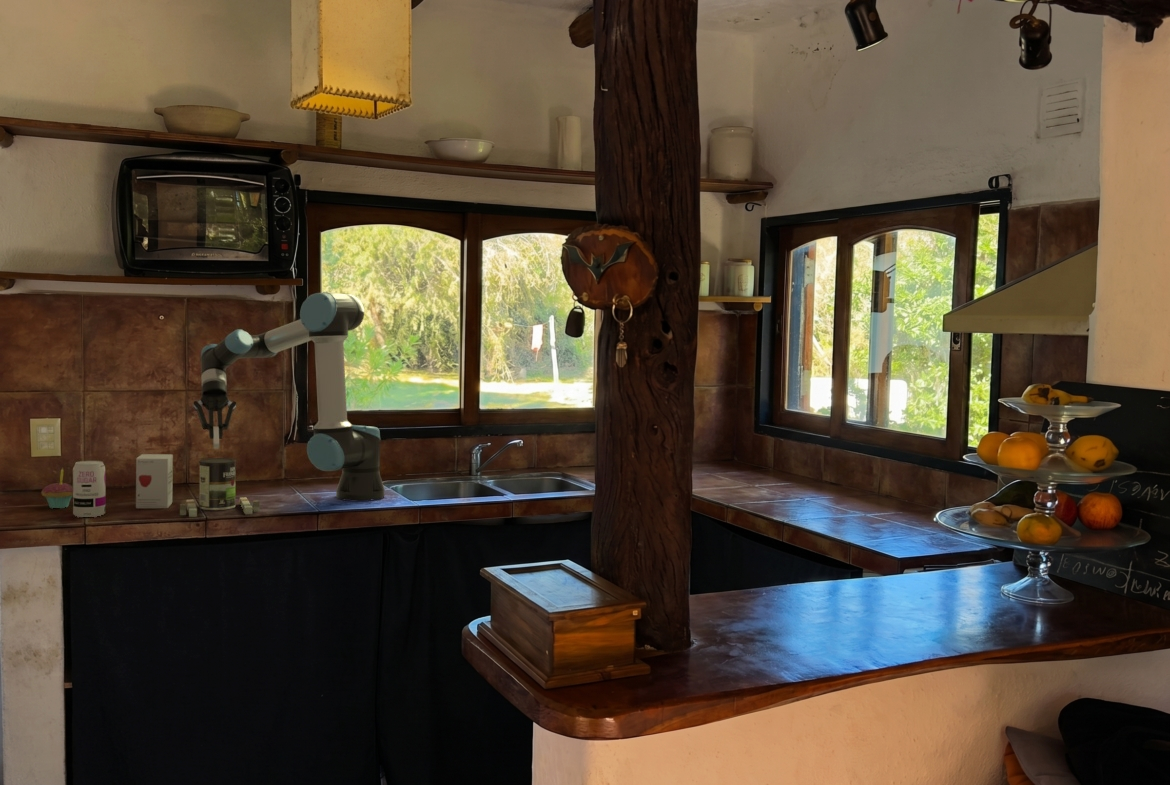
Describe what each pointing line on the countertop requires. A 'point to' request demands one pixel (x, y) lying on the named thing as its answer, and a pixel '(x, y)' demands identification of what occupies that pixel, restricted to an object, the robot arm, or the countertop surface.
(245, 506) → the slot track
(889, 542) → the countertop surface
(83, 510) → the supplement can
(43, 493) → the cupcake
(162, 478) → the supplement box
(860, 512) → the countertop surface
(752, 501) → the countertop surface
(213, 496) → the coffee can
